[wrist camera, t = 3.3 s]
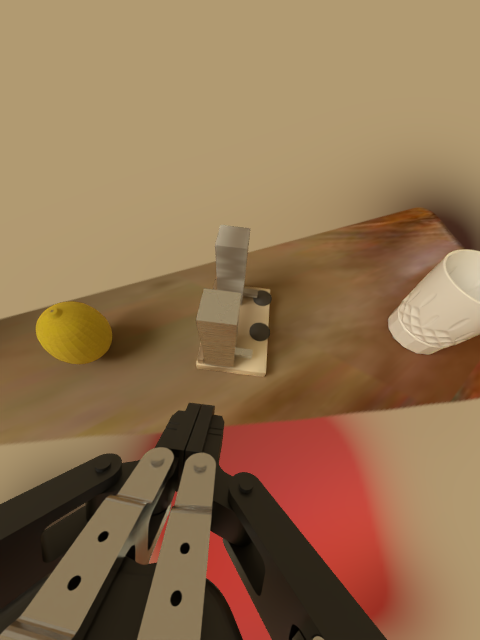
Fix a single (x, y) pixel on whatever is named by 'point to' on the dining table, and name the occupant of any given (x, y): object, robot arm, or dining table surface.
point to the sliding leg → (220, 327)
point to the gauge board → (247, 342)
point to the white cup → (441, 306)
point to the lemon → (74, 332)
